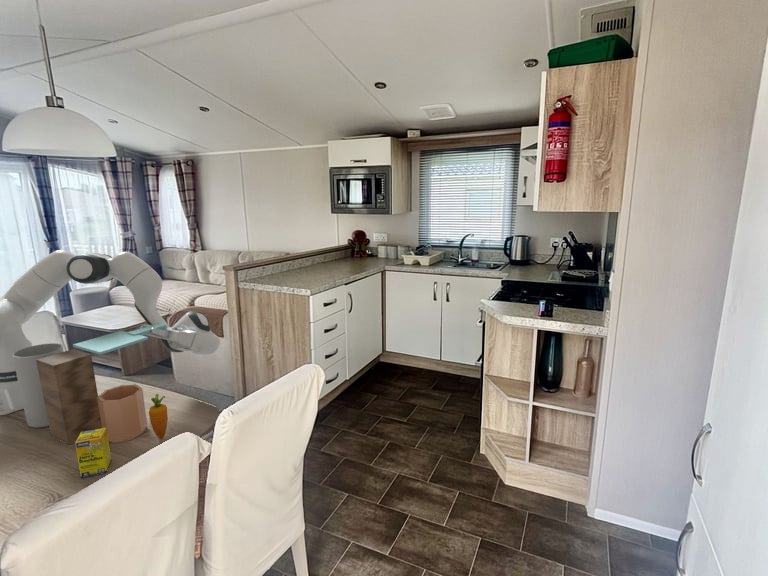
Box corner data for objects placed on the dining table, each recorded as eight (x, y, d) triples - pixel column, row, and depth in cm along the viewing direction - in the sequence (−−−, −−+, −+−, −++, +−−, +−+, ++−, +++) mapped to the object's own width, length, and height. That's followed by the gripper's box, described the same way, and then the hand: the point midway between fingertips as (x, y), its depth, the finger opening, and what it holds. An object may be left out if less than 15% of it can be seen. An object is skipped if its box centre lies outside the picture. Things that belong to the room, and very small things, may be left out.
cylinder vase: (71, 422, 133) (58, 352, 127) (23, 432, 126) (7, 360, 121) (77, 405, 143) (65, 341, 138) (32, 415, 137) (18, 347, 132)
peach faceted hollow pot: (98, 444, 121) (91, 402, 118) (116, 424, 131) (110, 385, 128) (136, 441, 122) (130, 399, 119) (151, 421, 133) (146, 383, 130)
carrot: (158, 434, 126) (152, 391, 123) (173, 434, 126) (168, 391, 123) (149, 443, 121) (142, 398, 118) (165, 443, 121) (159, 399, 118)
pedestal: (86, 421, 133) (73, 348, 128) (103, 428, 129) (91, 354, 123) (51, 436, 125) (36, 359, 119) (68, 444, 120) (53, 365, 115)
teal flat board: (150, 324, 139) (149, 321, 139) (176, 330, 133) (176, 326, 132) (73, 347, 118) (72, 343, 118) (100, 354, 112) (99, 350, 112)
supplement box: (80, 479, 105) (74, 443, 103) (87, 466, 111) (80, 431, 108) (107, 473, 108) (101, 438, 105) (112, 460, 113) (106, 426, 111)
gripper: (165, 325, 148) (130, 316, 136) (203, 333, 139) (169, 324, 127) (159, 341, 146) (124, 333, 134) (197, 350, 137) (162, 343, 125)
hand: (146, 329), depth 130 cm, fingers closed on teal flat board, 4 cm apart
